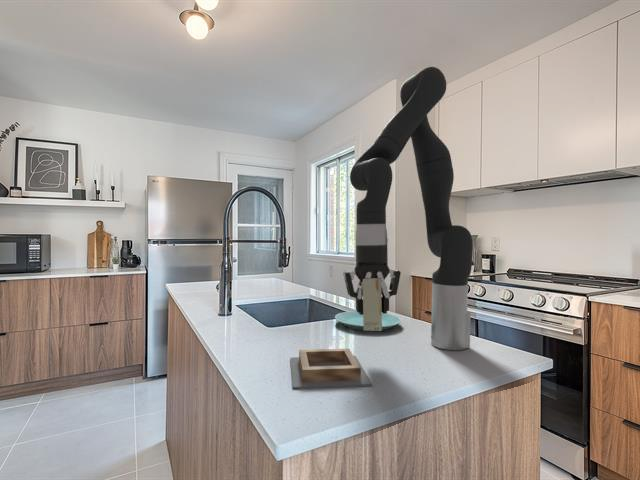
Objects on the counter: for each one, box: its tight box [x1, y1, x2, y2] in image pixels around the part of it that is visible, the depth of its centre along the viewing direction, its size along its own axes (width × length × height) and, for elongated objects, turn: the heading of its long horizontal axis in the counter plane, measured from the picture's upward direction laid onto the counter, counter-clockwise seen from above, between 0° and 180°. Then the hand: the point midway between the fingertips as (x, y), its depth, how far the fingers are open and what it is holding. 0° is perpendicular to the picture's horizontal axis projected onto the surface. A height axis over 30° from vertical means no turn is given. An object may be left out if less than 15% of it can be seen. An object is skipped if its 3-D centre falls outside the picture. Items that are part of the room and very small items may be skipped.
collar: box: [298, 348, 361, 382], centre depth 75 cm, size 12×12×2 cm
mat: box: [289, 355, 374, 390], centre depth 75 cm, size 16×16×1 cm
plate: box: [334, 310, 402, 332], centre depth 114 cm, size 22×22×3 cm
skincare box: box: [362, 278, 383, 332], centre depth 81 cm, size 6×4×12 cm
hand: (372, 313), depth 81 cm, fingers closed on skincare box, 5 cm apart
